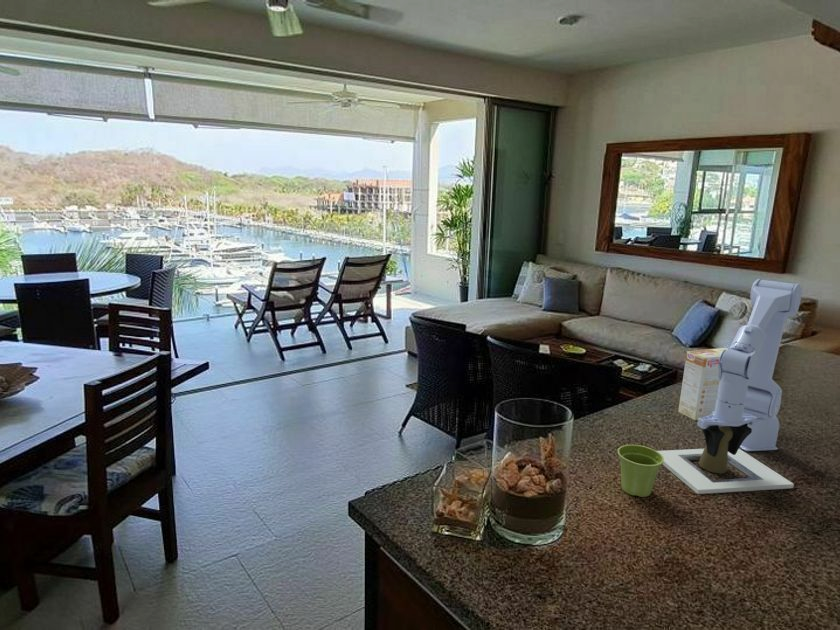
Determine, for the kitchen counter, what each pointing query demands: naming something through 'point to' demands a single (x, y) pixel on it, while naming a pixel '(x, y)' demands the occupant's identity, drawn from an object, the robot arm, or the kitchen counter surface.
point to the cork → (720, 460)
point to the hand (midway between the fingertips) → (721, 453)
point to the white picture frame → (704, 484)
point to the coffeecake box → (700, 383)
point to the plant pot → (639, 469)
